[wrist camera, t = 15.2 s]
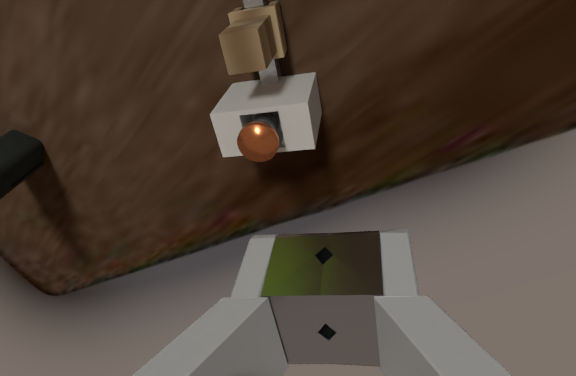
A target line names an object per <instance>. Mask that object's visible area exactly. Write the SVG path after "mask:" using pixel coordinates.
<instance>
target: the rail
mask: <svg viewBox="0 0 576 376" xmlns="http://www.w3.org/2000/svg"><path fill="white" fill-rule="evenodd" d="M243 3H244V7H245V9H250V8H256V7H262V6H268V3H267V0H243ZM259 75H260V80H261V84H262V85H265V84H273V83H279V81H280V79H281V77H282V76H281V71H280V65H279V60H278V58H277V59H272V61H271V63H270V64H269V66H268V68H267V69H266V70H263V71H259Z"/></svg>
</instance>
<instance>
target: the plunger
mask: <svg viewBox="0 0 576 376" xmlns="http://www.w3.org/2000/svg"><path fill="white" fill-rule="evenodd" d="M280 124H281V122H280V118H279V113H278V111H275V112H266V113H257V114H256V115H255V117H254V119H253V121H252V122H250V123H248V124H246V125H245V126H243V128H242V129H241V131H240V133H239V134H238V137H237V145H238V148H239V150H240V152H241V153H242V154H243V155H244V156H245V157H246V158H248V159H249V160H252V161H255V162H265V161H268V160H270V159H271V158H273V157H274V156H275V154H276V152H277V150H278V147H279V137H278V134H277V132H278V129H279V127H280Z"/></svg>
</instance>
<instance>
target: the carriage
mask: <svg viewBox="0 0 576 376" xmlns="http://www.w3.org/2000/svg"><path fill="white" fill-rule="evenodd" d="M228 16H229V20H230V24H231V25H230V26H228V27H227V28H226V29H225V30H224V31H223V32H221V33H220V34H219V35H218V36H219V40H220V43H221V47H222V51H223V55H224V59H225V62H226V66H227V70H228V74H229V75H234V74H241V73H248V72H255V71H263V70H266V69H267V68H268V66H269V64H270V63H271V61H272V59H277V58H284V56H285V53H286V51H287V44H286V39H285V33H284V27H283V22H282V16H281V10H280V5H279V0H278V1H273V2H270V3H269V5H268V6H262V7H256V8H250V9H245V10H244V7H238V8H236V9H234V10H233V11H232V12H230V13H229V14H228Z"/></svg>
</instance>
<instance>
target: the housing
mask: <svg viewBox="0 0 576 376" xmlns="http://www.w3.org/2000/svg"><path fill="white" fill-rule="evenodd" d="M275 111H278V113H279V118H280V122H281V124H280V127H279V129H278V132H277V134H278V137H279V147H278V150H277V152H287V151H298V150H309V149H315V147H316V142H317V136H318V131H319V125H320V120H321V114H322V111H321V104H320V97H319V90H318V83H317V76H316V72H313V73H306V74H298V75H291V76H283V77H281V79H280V81H279V83H273V84H265V85H262V84H261V80H253V81H246V82H238V83H233V84H232V85H231V86H230V88H229V89H228V90H227V92H226V93H225V94H224V96H223V97H222V98H221V100H220V101H219V102H218V104H217V105H216V107H215V108H214V109H213V111H212V112H211V113H210V116H211V120H212V123H213V126H214V130H215V133H216V136H217V139H218V143H219V146H220V149H221V153H222V156H223V157H232V156H243V154H242V153H241V152H240V150H239V148H238V145H237V137H238V134H239V133H240V131H241V129H242V128H243V126H245V125H246V124H248V123H250V122H252V121H253V119H254V117H255V115H256V114H257V113H266V112H275Z"/></svg>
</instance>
